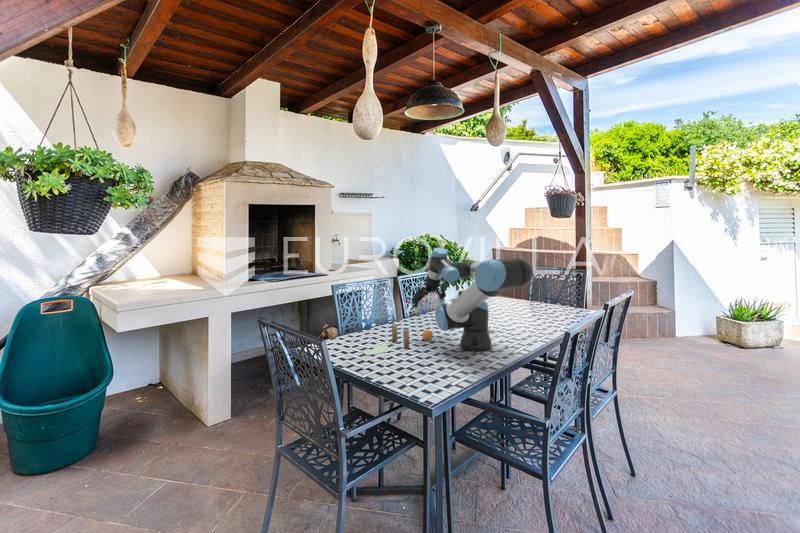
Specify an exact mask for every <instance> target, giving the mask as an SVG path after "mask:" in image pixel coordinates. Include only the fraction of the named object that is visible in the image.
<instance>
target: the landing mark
mask: <svg viewBox="0 0 800 533" xmlns="http://www.w3.org/2000/svg"><path fill="white" fill-rule="evenodd" d="M383 344H384V343H383ZM383 344H382V345H378V347H377V346H376V347H375V348H374V349H372V350H369V351H367V350H366V351H365V350H364V351H362V350H361V351H362V353H363V354H364V353H365V355H366V356H367V355H368V356H373V354H374V355H378V353H379V354H384V352H385V353H388V352H389V351H390V352H395V350H394V349H393V348H391V347H389V346H388V345H386V344H384V345H383ZM361 351H360V352H361ZM390 352H389V353H390Z"/></svg>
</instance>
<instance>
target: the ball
mask: <svg viewBox="0 0 800 533" xmlns="http://www.w3.org/2000/svg"><path fill="white" fill-rule="evenodd" d="M421 337H422V339H424V340H425V341H431V339H433V332H432V330H431V329H425V330H423V331H422V334H421Z"/></svg>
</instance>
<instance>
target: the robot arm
mask: <svg viewBox="0 0 800 533" xmlns="http://www.w3.org/2000/svg"><path fill="white" fill-rule="evenodd" d="M431 253H432V254H431V256H430V259H429V266H428V269H427V275H426V277H425V284H424V285H422V284H420V285H419V287H418V289H417V291H416V292H415V294H414V295H413V296H412V298H411V301H412V302H413V312H414V313H415V314H418V311H419V307H420V302H421V301H422V300H423V299H424V298H425V296H426V295H428V294H431V293H434V292H435V293H436V295H437V297H436V299H435V304H434V308H435V311H434V317H435V322H436V324H437V327H438V328H439V329H440V330H441V331H449V330H455V329H463V330H462V331H463V332H462V335H461V339H460V340H459V347H460V348H461V349H463V350H466V351H471V352H485V351H488V350H491V349H492V348H493V347H492V346H493V345H492V341H491V337H490V333H489V319H488V316H489V308H488V307H489V306H488V303H487V302H486V300H488V299H489V298H490V297H491V298H494V297H497V296H499V295H500V294H501V293H502V292H504V291H506V290H510V289H511V290H513V289H521V288H524V287H526V286H528V285H529V284H530V283H531V282H532V280H533V277H534V269H533V268H534V267H533V266H532V265H531V263H529V261H528V260H526V259H523V258H515V257H514V258H500V259H495V258H493V259H491V258H490V259H486V260H483V261H480V260H472V261H457V262H455V261H453V262H451V261H450V259H448V256H449V255H448V254H449V252H448V250H447V249H445V248H444V247H435V248H433V250H432V252H431ZM442 278H443V280H445V281H446V283H450V284H451V283H452V284H453V283H454V282H457V281H458V280H459V278H461V279H462V278H474V281H473V283H471V284H470V285H469V286H468V287H467V288H466V289H465V290H464V291H462V293H461V294H460V295H459V296H458V297H456V298H452V299H449V301H447V303H445V304H441V303H442V300H444V299H445V298H446V297H447V294H446V290H445V283H443V281H442ZM439 289H440V291H439Z"/></svg>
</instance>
